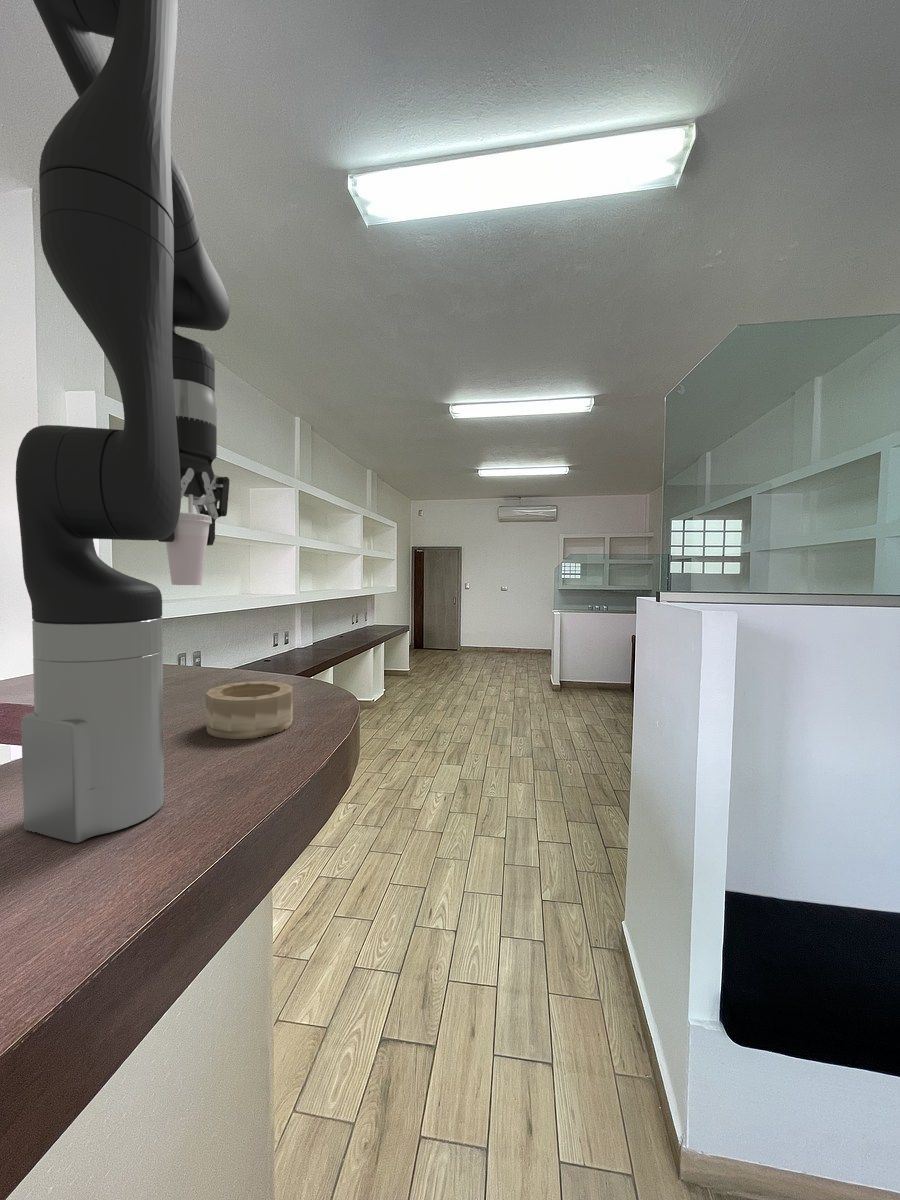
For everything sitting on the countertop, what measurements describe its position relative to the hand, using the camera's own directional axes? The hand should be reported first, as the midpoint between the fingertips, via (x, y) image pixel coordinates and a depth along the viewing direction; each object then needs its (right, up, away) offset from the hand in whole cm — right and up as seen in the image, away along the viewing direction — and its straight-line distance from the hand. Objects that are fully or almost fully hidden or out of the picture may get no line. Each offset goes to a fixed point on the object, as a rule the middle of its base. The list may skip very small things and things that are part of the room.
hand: (186, 543), depth 71 cm
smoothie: (0, -6, 0) cm, 6 cm away
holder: (+9, -25, -1) cm, 27 cm away
